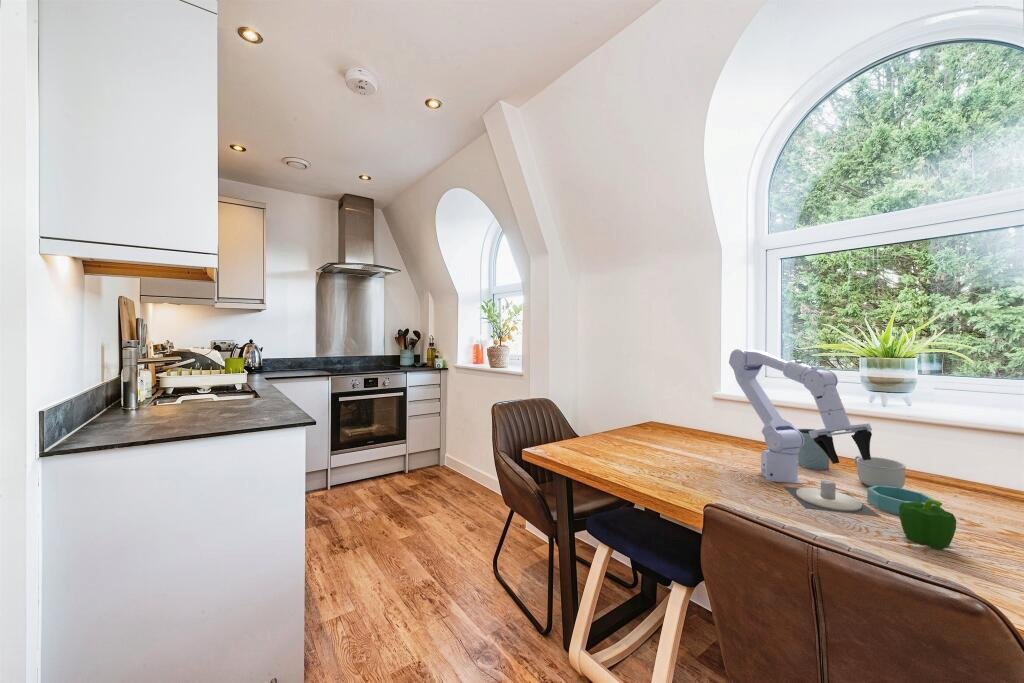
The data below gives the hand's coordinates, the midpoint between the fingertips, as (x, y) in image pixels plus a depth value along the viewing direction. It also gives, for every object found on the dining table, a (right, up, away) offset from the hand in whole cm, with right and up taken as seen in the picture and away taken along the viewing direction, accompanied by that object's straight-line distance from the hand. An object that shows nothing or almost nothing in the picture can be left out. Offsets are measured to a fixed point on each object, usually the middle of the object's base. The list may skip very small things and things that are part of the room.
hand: (851, 461), depth 109 cm
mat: (-6, -11, +1) cm, 13 cm away
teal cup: (+14, -11, +32) cm, 37 cm away
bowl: (+9, -11, -4) cm, 15 cm away
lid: (-6, -11, +1) cm, 12 cm away
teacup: (+19, -12, +13) cm, 26 cm away
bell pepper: (-2, -12, -21) cm, 24 cm away
